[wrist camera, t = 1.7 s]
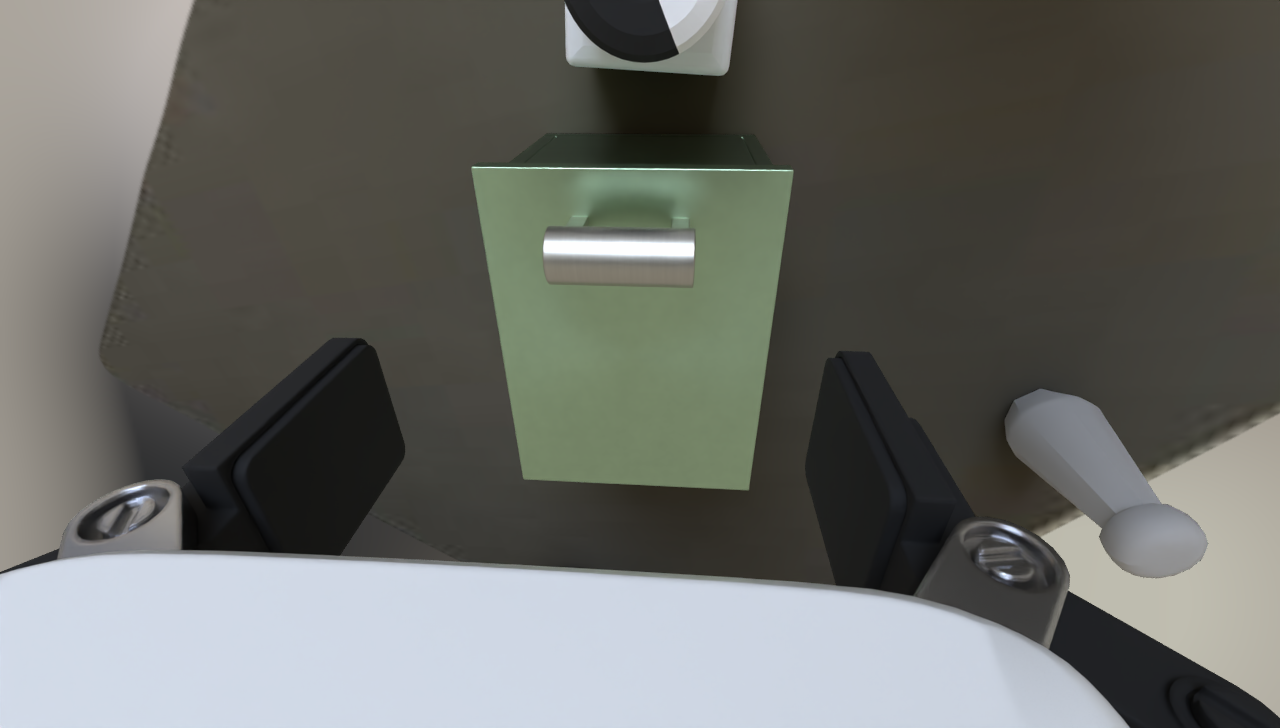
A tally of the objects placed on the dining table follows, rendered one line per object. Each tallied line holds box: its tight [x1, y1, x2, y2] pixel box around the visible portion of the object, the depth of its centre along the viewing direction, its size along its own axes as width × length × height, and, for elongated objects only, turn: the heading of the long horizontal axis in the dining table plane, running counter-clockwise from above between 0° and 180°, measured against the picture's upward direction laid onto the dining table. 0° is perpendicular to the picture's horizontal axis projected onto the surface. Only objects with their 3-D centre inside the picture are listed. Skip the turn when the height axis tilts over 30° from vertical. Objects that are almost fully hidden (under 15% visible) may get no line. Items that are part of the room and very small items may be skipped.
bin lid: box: [471, 162, 794, 490], centre depth 23 cm, size 16×12×5 cm
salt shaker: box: [1005, 389, 1208, 578], centre depth 34 cm, size 6×6×13 cm
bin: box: [509, 134, 773, 165], centre depth 30 cm, size 16×12×12 cm
